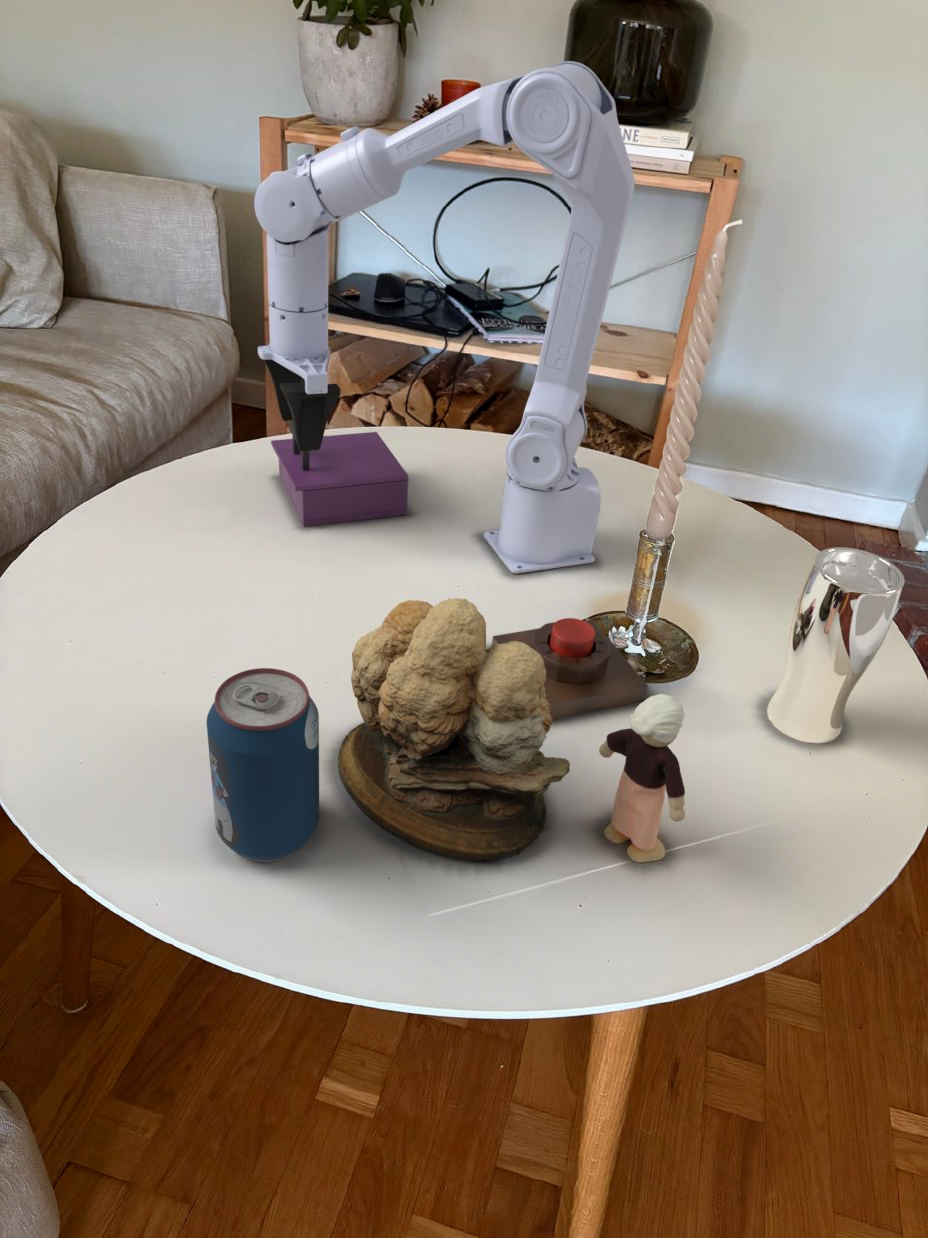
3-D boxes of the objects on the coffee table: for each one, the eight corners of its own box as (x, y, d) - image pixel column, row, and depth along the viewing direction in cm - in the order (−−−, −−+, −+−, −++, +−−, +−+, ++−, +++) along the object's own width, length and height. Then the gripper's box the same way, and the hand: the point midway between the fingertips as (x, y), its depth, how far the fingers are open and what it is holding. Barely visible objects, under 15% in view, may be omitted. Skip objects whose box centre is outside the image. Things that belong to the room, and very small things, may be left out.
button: (579, 631, 83) (583, 615, 82) (599, 655, 81) (603, 638, 80) (542, 637, 82) (545, 621, 81) (561, 662, 79) (564, 645, 78)
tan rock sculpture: (589, 802, 71) (632, 612, 61) (504, 904, 62) (537, 704, 53) (397, 700, 78) (407, 517, 69) (298, 780, 70) (293, 584, 60)
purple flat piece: (295, 491, 98) (294, 454, 95) (271, 444, 106) (269, 409, 104) (408, 479, 102) (410, 444, 99) (376, 435, 110) (377, 401, 108)
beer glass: (853, 714, 82) (914, 565, 73) (835, 760, 77) (899, 605, 68) (773, 683, 85) (824, 536, 76) (751, 726, 79) (802, 573, 71)
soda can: (336, 813, 68) (338, 680, 61) (287, 884, 62) (283, 747, 56) (251, 782, 69) (243, 650, 63) (196, 849, 64) (181, 712, 57)
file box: (303, 526, 100) (302, 491, 98) (279, 478, 109) (278, 444, 106) (406, 515, 104) (408, 480, 102) (375, 468, 113) (376, 435, 110)
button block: (589, 634, 88) (595, 602, 87) (644, 701, 81) (652, 668, 79) (490, 651, 85) (494, 618, 83) (538, 722, 78) (543, 689, 76)
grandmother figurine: (688, 851, 68) (731, 715, 60) (659, 882, 65) (701, 743, 58) (599, 794, 71) (630, 659, 64) (569, 821, 69) (597, 684, 62)
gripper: (242, 282, 97) (248, 408, 104) (273, 329, 86) (277, 467, 94) (311, 280, 99) (311, 404, 107) (349, 326, 88) (347, 460, 96)
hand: (300, 433), depth 100 cm, fingers open, 7 cm apart
